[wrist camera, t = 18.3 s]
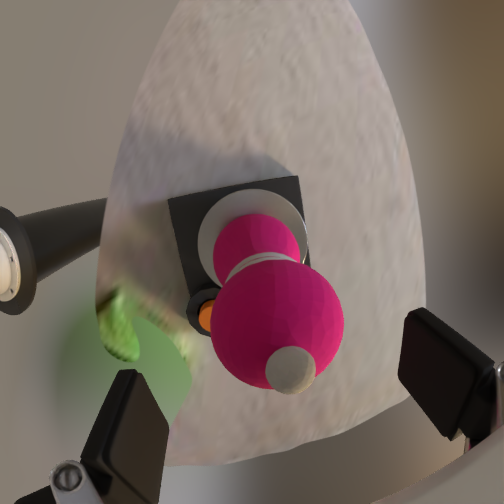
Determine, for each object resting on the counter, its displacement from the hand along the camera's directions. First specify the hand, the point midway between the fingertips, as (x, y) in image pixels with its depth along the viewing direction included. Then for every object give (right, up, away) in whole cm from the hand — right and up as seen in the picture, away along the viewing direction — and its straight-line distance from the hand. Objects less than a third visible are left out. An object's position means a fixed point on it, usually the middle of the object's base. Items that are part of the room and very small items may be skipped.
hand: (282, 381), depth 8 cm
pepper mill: (-1, +5, +19) cm, 20 cm away
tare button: (-5, -2, +22) cm, 23 cm away
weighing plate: (-1, +5, +20) cm, 21 cm away
